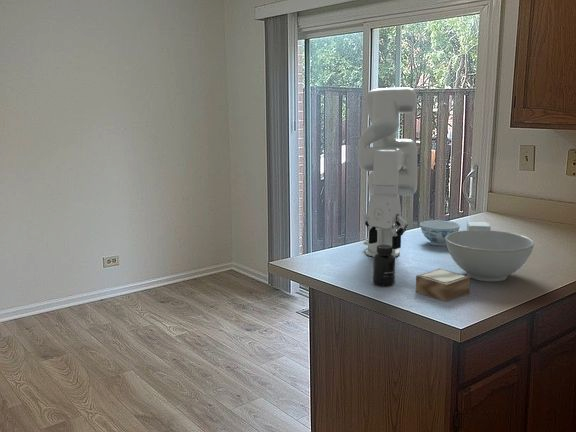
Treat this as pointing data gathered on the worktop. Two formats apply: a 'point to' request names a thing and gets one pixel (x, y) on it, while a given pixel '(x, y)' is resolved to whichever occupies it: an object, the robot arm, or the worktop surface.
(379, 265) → the supplement bottle
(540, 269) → the worktop surface
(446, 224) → the chinaware
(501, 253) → the decorative bowl
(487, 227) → the supplement box
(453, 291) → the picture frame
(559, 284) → the worktop surface
